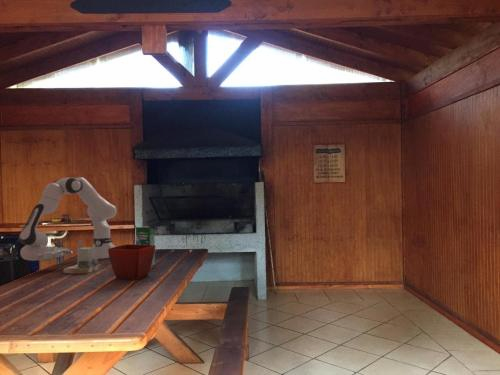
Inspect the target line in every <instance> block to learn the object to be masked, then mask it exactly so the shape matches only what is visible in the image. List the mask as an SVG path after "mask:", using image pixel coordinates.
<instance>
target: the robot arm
mask: <svg viewBox="0 0 500 375" xmlns="http://www.w3.org/2000/svg"><path fill="white" fill-rule="evenodd" d="M71 194H77V195H78V197H79V198H80V199H81V200H82V201H83V203H84V205H87V209H86V213H87V216H89V218H90V220H91V223H92V226H93V238H92V239H93V240H92V242H93V244H92V246H91V248H92V253H93V258H98V260H102V259H110V258H109V253H108V249H109V248H113V247H117V246H116V245H115V244H113V242H112V241H113V240H114V238H113V237H112V236H111V226H110V225H109V223H108V221H107V220H108V219H109V220H110V219H112V218H114V217H116V216H117V212H118V210H117V207H116V206H115V205H113V204H112V203H110V202H109V201H107V200H106V199H105V198H104V197H102V195H101V194H99V193H98V191H97V190H96V188H94V187H93V185H92V184H91V183H90V182H89V181H88V180H87V179H86V178H85V177H83V176H81V177H80V176H79V177H63V178H57V179H56V180H54V182H51V183H48V184H46V186H45V188H44V190H43V192H42V194H41V197H40V199H39V202H38V203H37V204H36V205H34V207H33V209H32V211H31V213H30V215H29V216H28V218H27V221H26V223H25V225H24V227H23V228H22V230H21V231H20V232H19V235H18V240H19V242H20V243H21V244H22V245H24V246H23V247H21V249H20V251H19V253H20V257H21V258H22V259H23V260H26V261H32V262H33V261H40V262H42V261H44V262H49V261H51V260H53V259H56V258H59V257H60V258H61V257H64V256H67V255H73V251H72V250H70V248H68V247H58V246H47V244H48V235H47V234H46V233H44V232H42V231H39V230H37V226H38V225H39V222H40V220H41V218H42V217H43V216H45V215H49V214H52V213H54V212H56V211H57V209H58V207H59V204H60V201H61V198H62V197H63V195H71Z"/></svg>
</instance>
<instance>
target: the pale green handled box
mask: <svg viewBox="0 0 500 375" xmlns="http://www.w3.org/2000/svg"><path fill="white" fill-rule="evenodd" d="M83 243H84V242H83V240H78V241H77V248H76V256H77V258H76V259H77V260H76V261H77V262H76V263H77V264H76V265H78V267H79V261H90V260H93V253H92V247H83Z"/></svg>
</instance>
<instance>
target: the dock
mask: <svg viewBox="0 0 500 375" xmlns="http://www.w3.org/2000/svg"><path fill="white" fill-rule="evenodd" d="M100 269H102V264H101V263H100V264H99V259H98V258H93V260H90V261H79V267H78V265H77V264H74V265H72V266H68V267H64V268H63V274H90V273H92V272H94V271H98V270H100ZM89 272H90V273H89Z"/></svg>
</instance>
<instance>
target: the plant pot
mask: <svg viewBox="0 0 500 375" xmlns="http://www.w3.org/2000/svg"><path fill="white" fill-rule="evenodd" d="M155 251H156V244H155V245H136V244H123V245H118V246H116V247H113V248H109V249H108V253H109V258H108V259H109V260H110V264H111V268H112V271H113V274H114V275H115V278H116V279H119V280H120V279H121V280H132V281H133V280H134V281H135V280H139V279H141V278H144V277H147V276H148V275H149V273H150V270H151V267H152V266H151V264H152V261H153V256H154V252H155Z"/></svg>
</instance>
